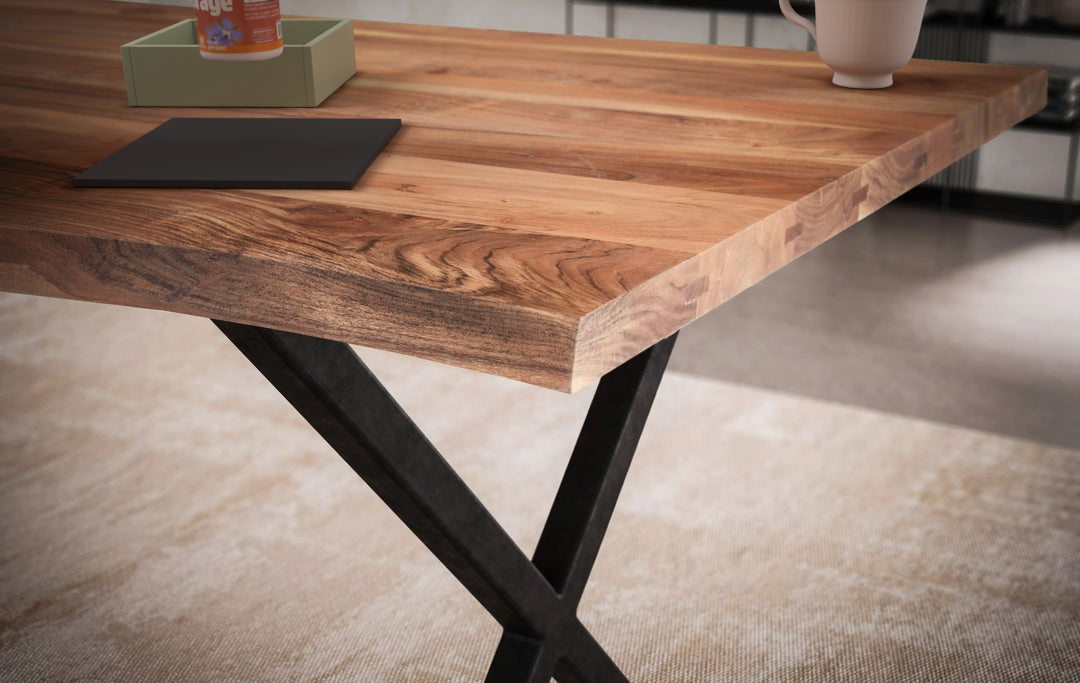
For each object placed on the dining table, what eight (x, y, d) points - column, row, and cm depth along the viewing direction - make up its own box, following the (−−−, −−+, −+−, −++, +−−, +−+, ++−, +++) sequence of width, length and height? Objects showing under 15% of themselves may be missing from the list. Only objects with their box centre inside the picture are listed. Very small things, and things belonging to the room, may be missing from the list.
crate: (128, 106, 108) (119, 46, 106) (193, 72, 124) (186, 19, 122) (316, 107, 107) (310, 46, 105) (356, 72, 123) (352, 18, 121)
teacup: (792, 66, 123) (799, -32, 119) (937, 77, 117) (950, -27, 113) (755, 86, 114) (761, -21, 110) (910, 100, 107) (923, -14, 103)
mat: (72, 186, 82) (71, 178, 82) (173, 124, 101) (172, 117, 101) (351, 189, 81) (350, 181, 81) (401, 125, 100) (401, 118, 99)
